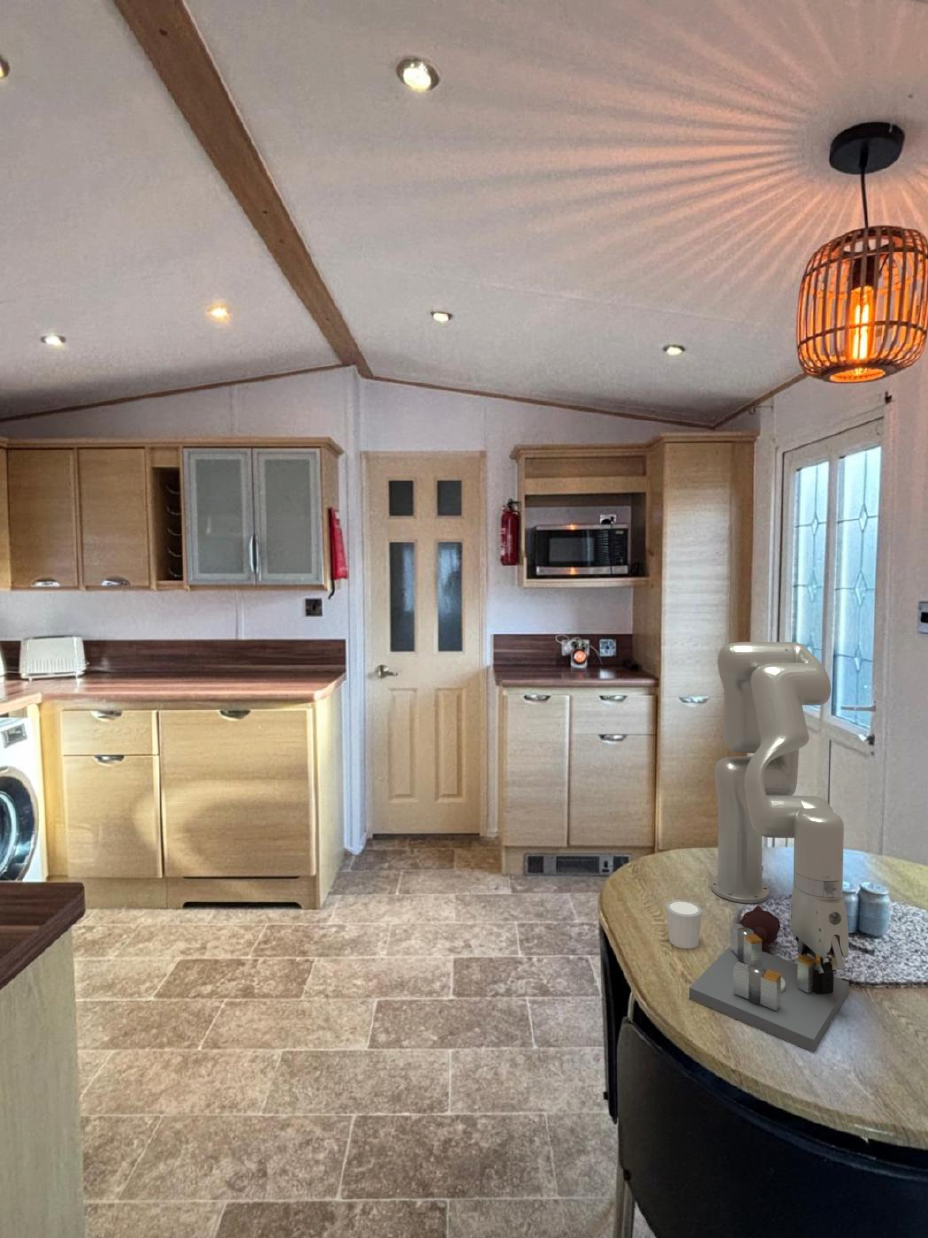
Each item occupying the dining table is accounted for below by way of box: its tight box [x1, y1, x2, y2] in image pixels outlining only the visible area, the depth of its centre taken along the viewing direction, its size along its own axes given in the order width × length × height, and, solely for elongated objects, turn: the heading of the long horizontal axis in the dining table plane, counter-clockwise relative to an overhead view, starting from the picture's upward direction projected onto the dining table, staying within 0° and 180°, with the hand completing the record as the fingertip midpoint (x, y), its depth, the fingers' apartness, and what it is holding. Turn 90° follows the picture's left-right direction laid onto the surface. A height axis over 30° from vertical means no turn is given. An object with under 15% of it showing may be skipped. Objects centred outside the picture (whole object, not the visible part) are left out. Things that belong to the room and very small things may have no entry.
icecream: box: [739, 904, 782, 955], centre depth 135 cm, size 7×7×15 cm
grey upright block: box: [729, 923, 762, 966], centre depth 126 cm, size 7×3×5 cm, turn 9°
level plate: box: [688, 946, 850, 1053], centre depth 118 cm, size 20×20×3 cm
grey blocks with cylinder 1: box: [733, 962, 781, 1011], centre depth 114 cm, size 7×3×5 cm, turn 47°
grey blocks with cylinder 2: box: [797, 951, 829, 993], centre depth 117 cm, size 7×3×5 cm, turn 119°
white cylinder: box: [665, 899, 703, 950], centre depth 136 cm, size 7×7×7 cm
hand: (815, 984), depth 118 cm, fingers closed on grey blocks with cylinder 2, 3 cm apart
